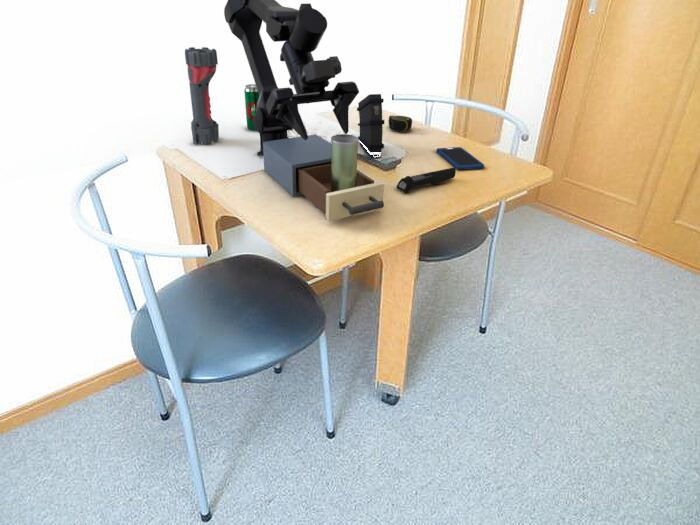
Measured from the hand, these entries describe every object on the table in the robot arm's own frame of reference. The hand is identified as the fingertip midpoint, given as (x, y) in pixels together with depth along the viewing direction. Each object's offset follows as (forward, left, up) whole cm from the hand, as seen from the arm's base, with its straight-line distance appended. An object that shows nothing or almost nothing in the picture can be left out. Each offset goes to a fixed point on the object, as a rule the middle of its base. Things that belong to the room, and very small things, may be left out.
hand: (327, 135), depth 97 cm
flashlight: (-43, +14, -13) cm, 47 cm away
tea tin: (+6, -4, -11) cm, 13 cm away
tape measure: (-4, +52, -13) cm, 53 cm away
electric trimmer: (+17, +17, -13) cm, 27 cm away
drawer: (+6, -4, -12) cm, 14 cm away
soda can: (-39, +29, -13) cm, 50 cm away
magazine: (-4, +31, -13) cm, 34 cm away
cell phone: (+19, +37, -13) cm, 43 cm away
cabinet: (-9, +5, -13) cm, 16 cm away
